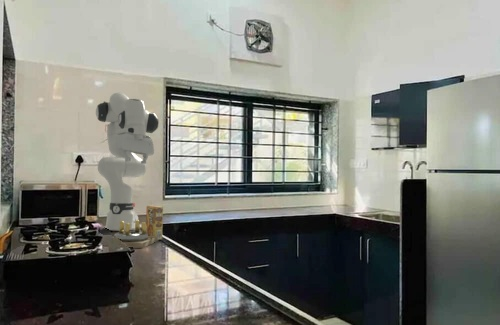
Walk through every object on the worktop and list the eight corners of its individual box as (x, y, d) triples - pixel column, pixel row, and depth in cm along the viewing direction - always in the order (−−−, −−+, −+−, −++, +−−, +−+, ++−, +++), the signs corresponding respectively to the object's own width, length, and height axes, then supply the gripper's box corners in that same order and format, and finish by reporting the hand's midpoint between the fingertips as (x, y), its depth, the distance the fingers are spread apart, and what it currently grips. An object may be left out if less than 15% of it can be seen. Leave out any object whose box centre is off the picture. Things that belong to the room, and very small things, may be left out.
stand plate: (122, 239, 179) (122, 234, 179) (158, 240, 177) (158, 235, 177) (103, 246, 161) (103, 240, 161) (142, 248, 159) (142, 242, 159)
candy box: (162, 239, 181) (163, 206, 181) (154, 240, 178) (155, 207, 178) (153, 237, 187) (154, 205, 187) (145, 237, 184) (146, 205, 185)
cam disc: (123, 235, 176) (123, 219, 176) (152, 236, 174) (153, 221, 174) (108, 240, 162) (108, 223, 162) (140, 241, 160) (140, 225, 160)
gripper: (146, 138, 187) (147, 166, 185) (113, 130, 169) (113, 161, 167) (156, 135, 184) (157, 164, 182) (123, 127, 166) (123, 159, 164)
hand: (136, 162), depth 174 cm, fingers open, 8 cm apart
